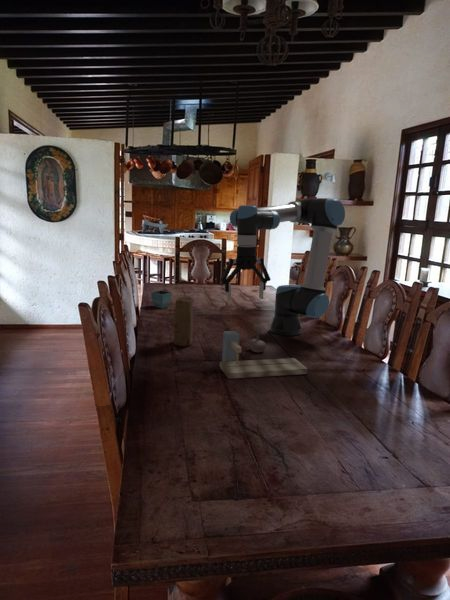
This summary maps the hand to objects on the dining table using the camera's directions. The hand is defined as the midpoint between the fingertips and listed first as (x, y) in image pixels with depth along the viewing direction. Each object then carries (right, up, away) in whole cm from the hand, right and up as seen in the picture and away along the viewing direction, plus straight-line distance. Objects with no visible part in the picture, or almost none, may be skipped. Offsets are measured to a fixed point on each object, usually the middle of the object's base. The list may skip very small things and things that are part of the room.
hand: (245, 299), depth 181 cm
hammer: (-5, -25, -11) cm, 28 cm away
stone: (-26, -19, +15) cm, 36 cm away
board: (+6, -26, -14) cm, 30 cm away
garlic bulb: (+6, -22, +9) cm, 24 cm away
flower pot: (-45, -5, +83) cm, 94 cm away
